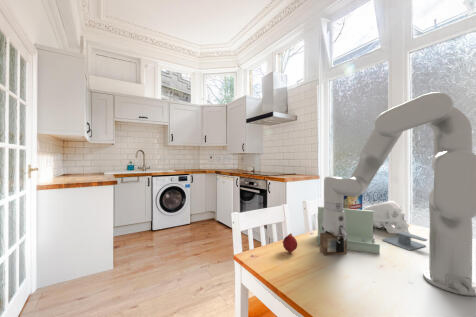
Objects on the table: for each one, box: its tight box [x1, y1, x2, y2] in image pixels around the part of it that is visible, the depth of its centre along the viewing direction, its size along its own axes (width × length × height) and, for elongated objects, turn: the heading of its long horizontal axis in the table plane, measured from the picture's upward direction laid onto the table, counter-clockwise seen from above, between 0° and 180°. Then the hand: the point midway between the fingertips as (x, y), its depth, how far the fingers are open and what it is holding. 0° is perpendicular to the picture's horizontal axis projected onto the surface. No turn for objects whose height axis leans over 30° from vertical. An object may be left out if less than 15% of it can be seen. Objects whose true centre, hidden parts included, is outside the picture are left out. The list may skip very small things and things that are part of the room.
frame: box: [319, 233, 348, 256], centre depth 88 cm, size 4×10×8 cm, turn 99°
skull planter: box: [363, 200, 411, 235], centre depth 118 cm, size 14×20×19 cm
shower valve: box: [381, 232, 428, 252], centre depth 97 cm, size 12×6×15 cm
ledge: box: [317, 205, 381, 255], centre depth 97 cm, size 13×24×15 cm, turn 69°
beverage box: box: [343, 193, 363, 210], centre depth 113 cm, size 7×11×22 cm, turn 115°
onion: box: [282, 233, 298, 253], centre depth 88 cm, size 6×6×8 cm
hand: (333, 247), depth 88 cm, fingers open, 8 cm apart
